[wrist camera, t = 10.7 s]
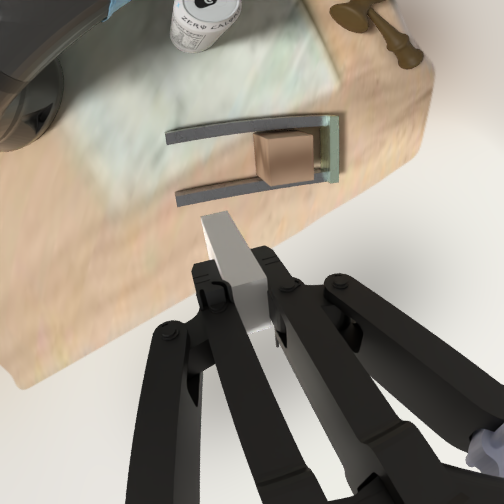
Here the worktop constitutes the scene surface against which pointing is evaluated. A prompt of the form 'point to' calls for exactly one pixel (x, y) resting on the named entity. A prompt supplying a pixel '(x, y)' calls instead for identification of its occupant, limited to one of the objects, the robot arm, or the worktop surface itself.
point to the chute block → (284, 156)
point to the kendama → (357, 21)
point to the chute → (252, 185)
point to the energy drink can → (201, 22)
